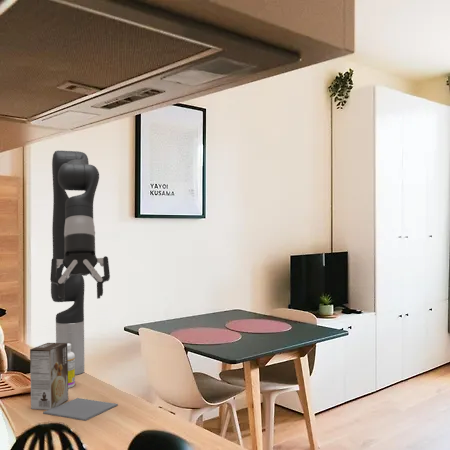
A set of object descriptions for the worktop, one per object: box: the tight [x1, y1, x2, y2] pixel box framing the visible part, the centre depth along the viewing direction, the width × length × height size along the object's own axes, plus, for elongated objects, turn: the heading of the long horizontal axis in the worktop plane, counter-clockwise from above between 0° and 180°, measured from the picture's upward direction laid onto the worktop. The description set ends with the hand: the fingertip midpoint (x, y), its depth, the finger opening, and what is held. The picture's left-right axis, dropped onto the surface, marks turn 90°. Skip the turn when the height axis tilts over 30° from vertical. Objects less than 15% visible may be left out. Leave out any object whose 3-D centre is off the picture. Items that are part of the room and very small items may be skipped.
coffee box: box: [29, 342, 69, 411], centre depth 145 cm, size 9×6×16 cm
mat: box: [42, 397, 119, 422], centre depth 140 cm, size 14×13×1 cm
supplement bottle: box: [67, 343, 76, 389], centre depth 162 cm, size 7×7×13 cm
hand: (80, 299), depth 130 cm, fingers open, 8 cm apart
